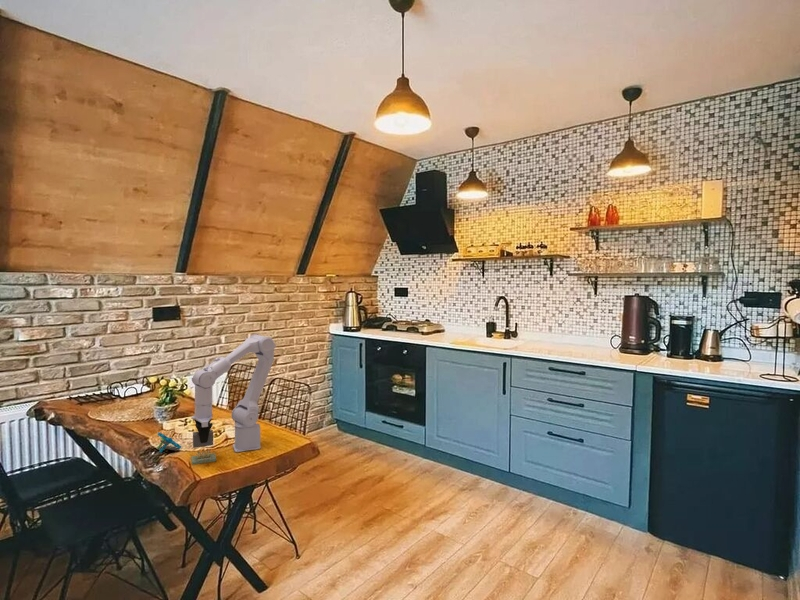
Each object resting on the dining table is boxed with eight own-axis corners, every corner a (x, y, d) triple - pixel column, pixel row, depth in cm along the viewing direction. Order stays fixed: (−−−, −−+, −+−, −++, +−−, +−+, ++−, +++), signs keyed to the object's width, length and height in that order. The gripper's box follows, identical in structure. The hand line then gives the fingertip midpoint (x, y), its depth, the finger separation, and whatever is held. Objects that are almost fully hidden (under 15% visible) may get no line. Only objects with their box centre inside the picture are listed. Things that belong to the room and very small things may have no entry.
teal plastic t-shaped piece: (186, 447, 174) (165, 432, 169) (175, 461, 171) (153, 446, 166) (176, 442, 182) (155, 428, 177) (165, 456, 179) (144, 442, 174)
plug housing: (212, 441, 169) (212, 429, 169) (213, 445, 166) (213, 433, 166) (192, 444, 166) (192, 432, 166) (193, 447, 163) (193, 435, 163)
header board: (214, 454, 171) (214, 447, 171) (216, 461, 166) (216, 453, 166) (191, 458, 168) (191, 450, 167) (191, 464, 162) (191, 456, 162)
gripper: (190, 399, 170) (190, 435, 171) (192, 410, 157) (192, 449, 158) (211, 397, 173) (211, 432, 174) (214, 408, 160) (214, 446, 161)
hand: (203, 440), depth 166 cm, fingers closed on plug housing, 4 cm apart
